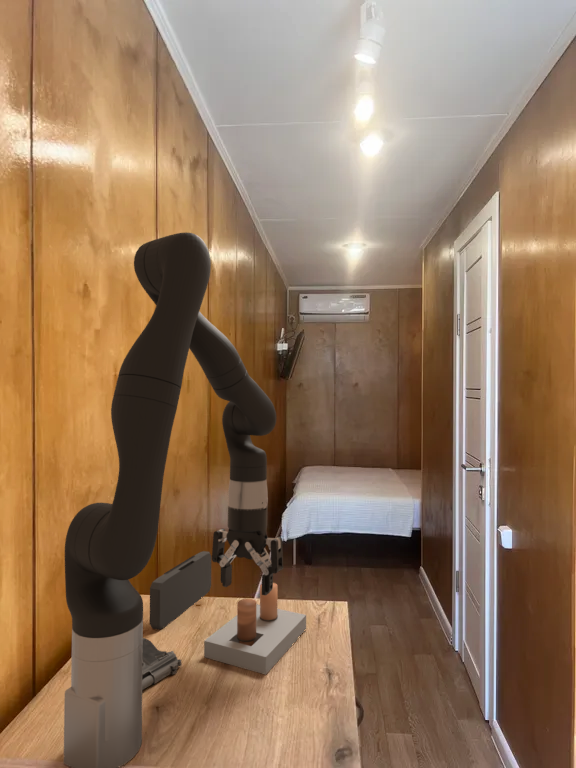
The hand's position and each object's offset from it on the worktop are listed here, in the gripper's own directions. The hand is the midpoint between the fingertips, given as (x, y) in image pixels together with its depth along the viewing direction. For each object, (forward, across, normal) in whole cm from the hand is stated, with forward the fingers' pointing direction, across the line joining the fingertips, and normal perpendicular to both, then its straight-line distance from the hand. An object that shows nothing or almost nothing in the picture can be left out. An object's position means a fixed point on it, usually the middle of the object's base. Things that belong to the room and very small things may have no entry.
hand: (246, 589), depth 91 cm
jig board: (+12, 0, +5) cm, 13 cm away
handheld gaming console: (+12, -23, +11) cm, 28 cm away
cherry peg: (+12, 0, 0) cm, 12 cm away
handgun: (+13, -14, -15) cm, 25 cm away
